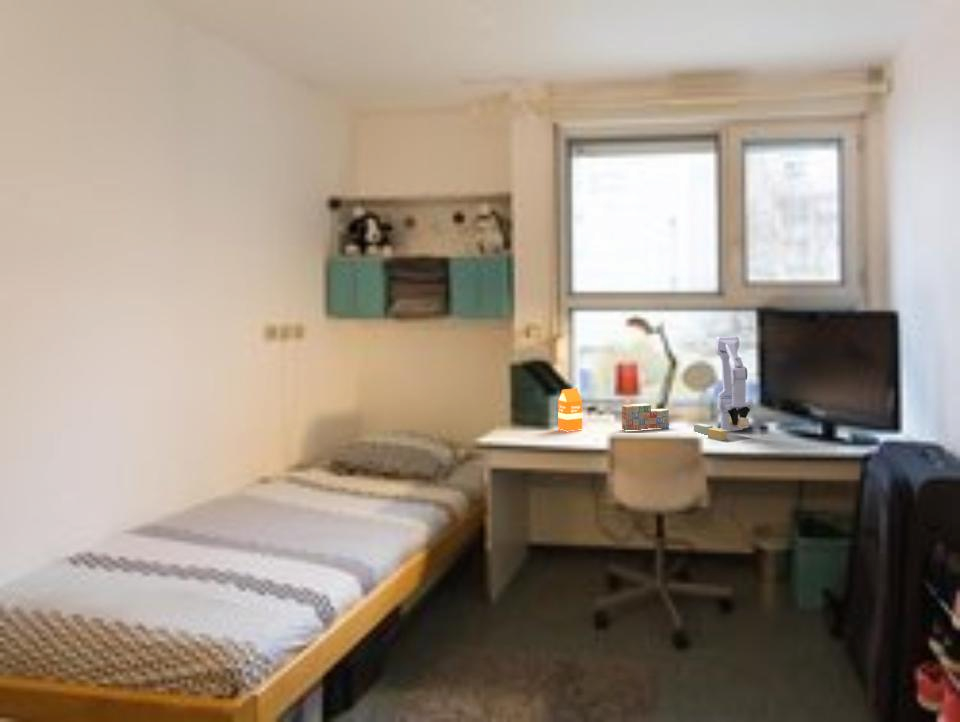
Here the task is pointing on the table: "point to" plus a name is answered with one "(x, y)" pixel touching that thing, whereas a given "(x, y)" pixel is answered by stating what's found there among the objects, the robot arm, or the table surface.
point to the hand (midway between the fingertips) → (738, 424)
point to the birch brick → (740, 422)
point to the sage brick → (702, 428)
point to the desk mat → (733, 438)
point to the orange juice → (570, 410)
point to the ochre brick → (717, 434)
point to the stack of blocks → (643, 417)
